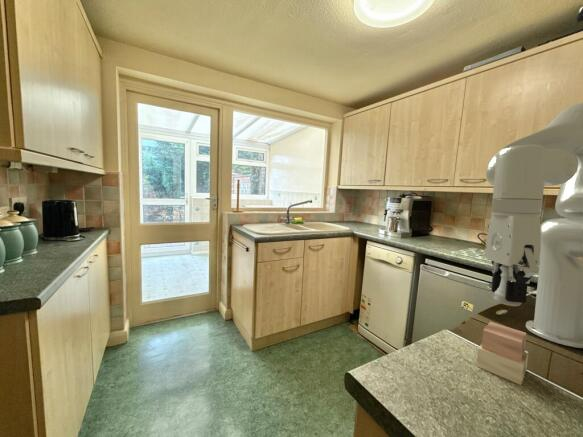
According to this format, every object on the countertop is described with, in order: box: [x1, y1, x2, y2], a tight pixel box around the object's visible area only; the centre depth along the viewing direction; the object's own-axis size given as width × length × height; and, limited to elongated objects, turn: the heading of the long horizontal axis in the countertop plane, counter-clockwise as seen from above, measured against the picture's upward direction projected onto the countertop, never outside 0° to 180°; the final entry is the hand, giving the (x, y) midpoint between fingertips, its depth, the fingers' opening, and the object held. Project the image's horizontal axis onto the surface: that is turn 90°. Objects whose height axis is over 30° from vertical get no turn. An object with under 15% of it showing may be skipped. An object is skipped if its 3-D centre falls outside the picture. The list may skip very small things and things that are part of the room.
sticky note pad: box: [476, 321, 529, 386], centre depth 52 cm, size 7×7×8 cm
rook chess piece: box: [493, 264, 523, 307], centre depth 51 cm, size 4×4×8 cm
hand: (507, 296), depth 51 cm, fingers closed on rook chess piece, 4 cm apart
